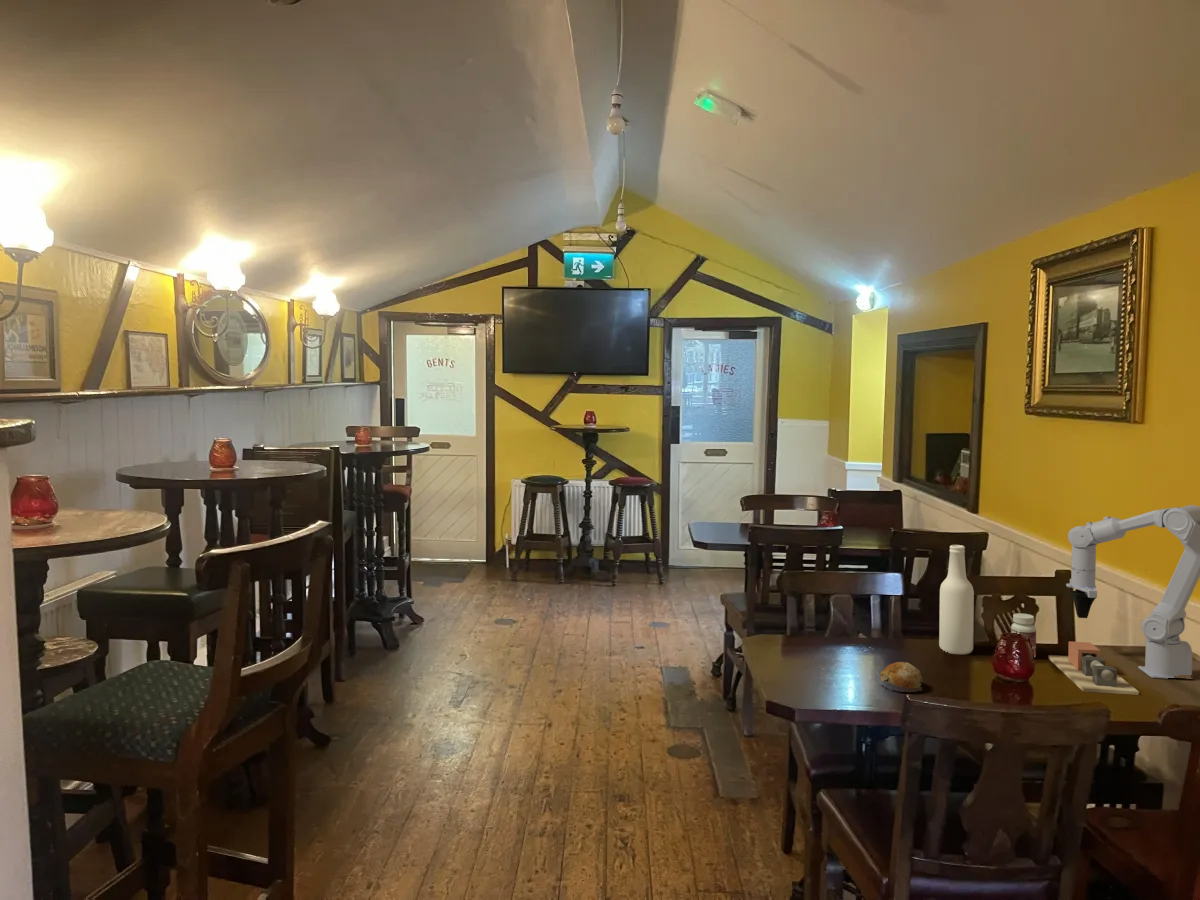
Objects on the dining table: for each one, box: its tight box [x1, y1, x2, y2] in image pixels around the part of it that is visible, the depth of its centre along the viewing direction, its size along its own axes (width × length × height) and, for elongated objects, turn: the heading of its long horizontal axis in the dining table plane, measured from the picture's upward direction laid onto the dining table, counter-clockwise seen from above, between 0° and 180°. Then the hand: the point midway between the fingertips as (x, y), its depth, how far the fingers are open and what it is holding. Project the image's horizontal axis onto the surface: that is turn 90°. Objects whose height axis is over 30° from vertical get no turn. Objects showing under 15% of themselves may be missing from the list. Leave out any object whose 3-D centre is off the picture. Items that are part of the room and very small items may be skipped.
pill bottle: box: [1010, 612, 1037, 658], centre depth 222 cm, size 6×6×11 cm
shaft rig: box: [1047, 653, 1140, 696], centre depth 206 cm, size 26×12×5 cm, turn 168°
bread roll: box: [879, 661, 924, 688], centre depth 200 cm, size 10×10×8 cm
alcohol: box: [938, 544, 975, 656], centre depth 227 cm, size 9×9×30 cm
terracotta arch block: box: [1067, 641, 1102, 669], centre depth 210 cm, size 7×5×5 cm
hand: (1082, 617), depth 222 cm, fingers closed
